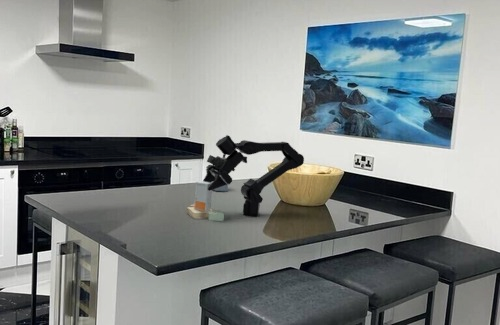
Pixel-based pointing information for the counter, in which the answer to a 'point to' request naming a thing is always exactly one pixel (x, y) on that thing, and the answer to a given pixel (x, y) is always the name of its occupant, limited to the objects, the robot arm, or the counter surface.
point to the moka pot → (225, 187)
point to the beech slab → (198, 213)
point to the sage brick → (216, 216)
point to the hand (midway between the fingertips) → (204, 187)
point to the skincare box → (203, 196)
